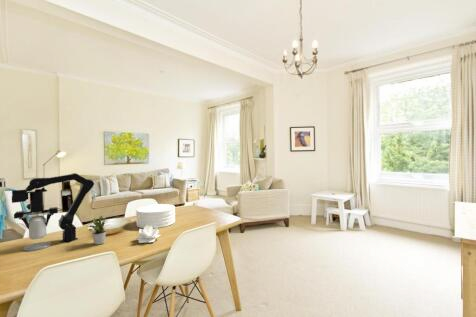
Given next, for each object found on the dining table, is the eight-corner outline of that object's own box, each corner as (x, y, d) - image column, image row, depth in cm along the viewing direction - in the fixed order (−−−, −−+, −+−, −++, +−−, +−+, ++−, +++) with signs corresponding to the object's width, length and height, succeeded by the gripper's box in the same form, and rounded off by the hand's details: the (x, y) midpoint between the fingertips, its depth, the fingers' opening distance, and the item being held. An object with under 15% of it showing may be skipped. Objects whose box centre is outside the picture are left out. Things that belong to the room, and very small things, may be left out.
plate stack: (182, 220, 185) (182, 206, 185) (152, 230, 161) (152, 214, 161) (159, 216, 200) (158, 202, 200) (128, 224, 176) (128, 209, 176)
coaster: (56, 243, 138) (56, 242, 138) (34, 252, 127) (34, 250, 127) (40, 242, 141) (40, 241, 141) (17, 250, 129) (17, 248, 129)
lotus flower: (138, 246, 133) (137, 230, 133) (132, 238, 146) (132, 224, 146) (163, 240, 141) (163, 226, 141) (156, 234, 154) (156, 220, 154)
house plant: (87, 240, 144) (86, 213, 144) (112, 236, 149) (112, 211, 149) (82, 248, 131) (81, 219, 131) (110, 244, 136) (110, 216, 136)
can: (36, 240, 129) (35, 218, 129) (25, 239, 131) (24, 218, 131) (49, 235, 137) (49, 215, 137) (39, 235, 138) (38, 214, 138)
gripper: (57, 196, 146) (58, 221, 146) (16, 200, 134) (17, 227, 135) (57, 198, 137) (58, 225, 137) (13, 203, 125) (14, 232, 126)
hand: (37, 227), depth 134 cm, fingers closed on can, 7 cm apart
